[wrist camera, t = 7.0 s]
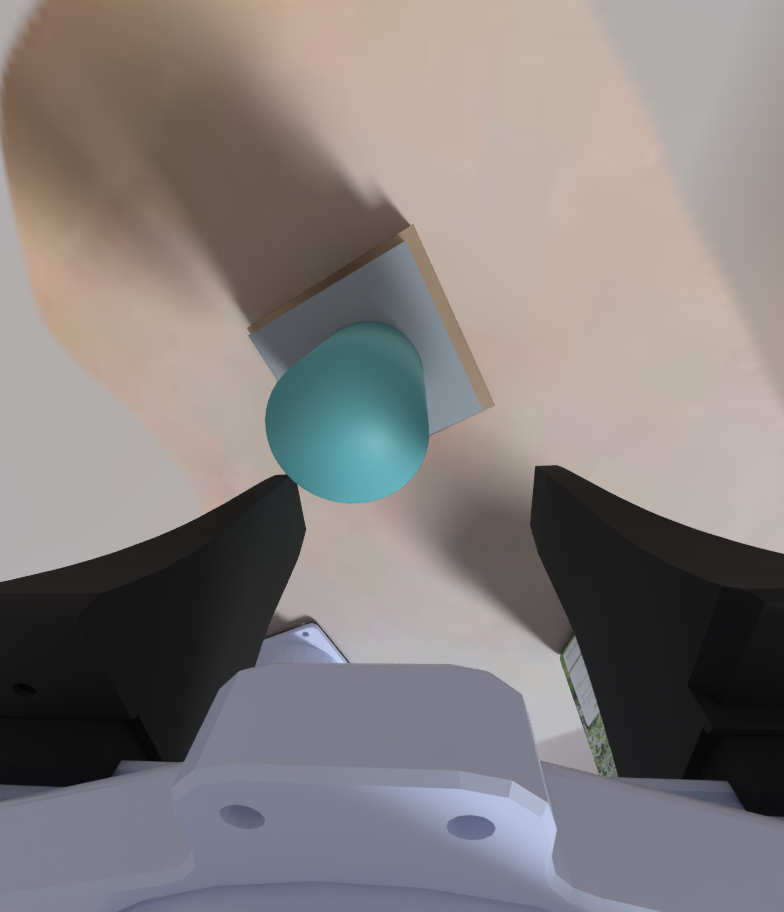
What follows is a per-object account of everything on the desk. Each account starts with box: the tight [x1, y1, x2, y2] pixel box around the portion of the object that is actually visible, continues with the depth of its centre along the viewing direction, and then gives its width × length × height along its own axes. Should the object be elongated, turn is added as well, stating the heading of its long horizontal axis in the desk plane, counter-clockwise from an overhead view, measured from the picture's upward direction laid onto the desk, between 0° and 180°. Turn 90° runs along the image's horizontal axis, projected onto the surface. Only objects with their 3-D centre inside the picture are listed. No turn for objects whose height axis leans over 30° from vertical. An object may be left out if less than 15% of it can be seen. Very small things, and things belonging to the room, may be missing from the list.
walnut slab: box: [247, 225, 495, 436], centre depth 19 cm, size 8×8×2 cm
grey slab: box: [248, 241, 483, 435], centre depth 17 cm, size 7×7×2 cm
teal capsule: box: [265, 321, 429, 503], centre depth 13 cm, size 4×4×6 cm
